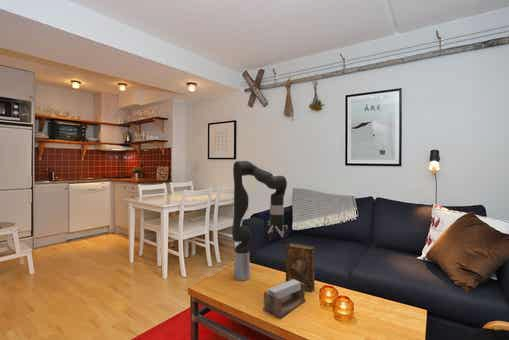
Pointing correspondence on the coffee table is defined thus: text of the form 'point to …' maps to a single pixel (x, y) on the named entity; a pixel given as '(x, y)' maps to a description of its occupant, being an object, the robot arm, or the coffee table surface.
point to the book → (300, 264)
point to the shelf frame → (283, 302)
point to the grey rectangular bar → (285, 288)
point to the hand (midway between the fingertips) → (276, 241)
